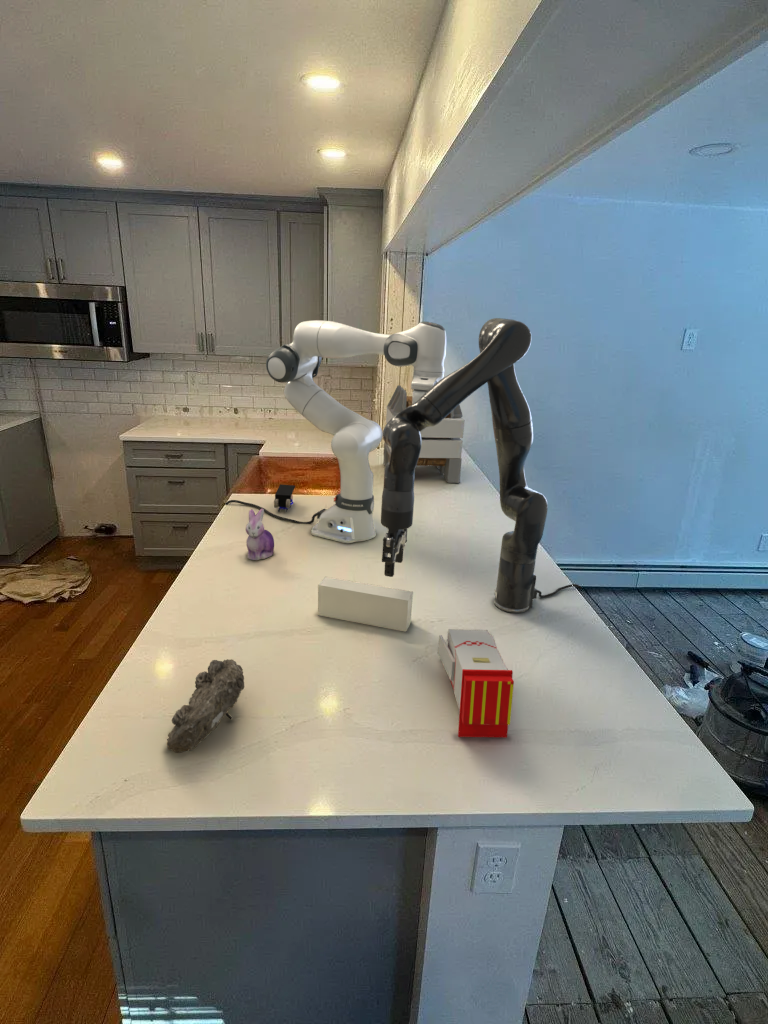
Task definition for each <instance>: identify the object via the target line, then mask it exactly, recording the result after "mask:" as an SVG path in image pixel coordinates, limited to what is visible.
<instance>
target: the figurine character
mask: <svg viewBox="0 0 768 1024" xmlns="http://www.w3.org/2000/svg"><path fill="white" fill-rule="evenodd" d="M295 489H296V485H292V484H279V486H278V487H277V490H276V492H275V494H274V500H273V508H274V509H277V512H278V513H280V512H281V510H285V513H287V512H288V510H289V509H290V508H291V506H293V504H294V495H293V493H294V491H295Z"/></svg>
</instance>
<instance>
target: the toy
mask: <svg viewBox="0 0 768 1024" xmlns="http://www.w3.org/2000/svg"><path fill="white" fill-rule="evenodd" d="M446 640H447V643H446V641H445V639H444V636H443V635H442V634H439V637H438V646H437V656H438V657H439V659H440V661H441V663H442V666H443V668H444V670H445V672H446V674H447V677H448V679H449V681H450V684H451V687H452V690H453V693H454V697H455V701H456V705H457V708H458V711H459V714H458V715H459V716H458V730H457V731H458V732H457V737H458V738H508V731H509V726H510V725H511V717H512V707H513V697H514V696H513V695H514V684H515V680H514V679H513V673H514V671H513V670H512V669H508V667H507V665H506V662H505V661H504V659H503V658H502V655H501V653H500V651H499V649H498V647H497V643H496V639H495V637H494V635H493V634H491V632H490V631H489V629H467V628H466V629H465V628H463V629H461V628H460V629H459V628H448V630H447V639H446Z"/></svg>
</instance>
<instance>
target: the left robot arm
mask: <svg viewBox="0 0 768 1024" xmlns="http://www.w3.org/2000/svg"><path fill="white" fill-rule="evenodd" d="M292 338H293V339H292V341H291V342H290V343H288V344H287V343H284V344H282V345H281V346H279V347H277V348H276V349H273V351H272V352H271V353H270V354H269V355H268V356H267V358H266V360H265V369H266V372H267V373H268V375H269V377H270V378H271V379H272V380H273V381H275V382H277V383H283V384H285V383H286V384H285V385H284V389H283V395H284V398H285V399H286V400H287V402H288V403H289V404H290V405H291V406H292V407H293V408H294V410H296V412H298V413H299V414H300V415H301V416H302V417H303V418H305V419H306V420H307V421H308V422H310V423H311V424H312V425H313V426H315V428H317V429H318V430H319V431H321V432H323V433H326V434H329V435H331V436H332V439H331V441H330V443H331V444H330V447H331V448H330V449H331V451H332V454H333V455H334V456H335V457H336V458H337V462H338V468H339V473H340V475H339V476H340V488H339V489H340V490H339V491H338V492H337V494H336V495H335V496H334V497H333V502H334V504H333V505H331V506H329V507H328V508H323V509H321V510H319V511H317V512H315V513H314V514H313V515H312V517H311V520H310V521H300V520H296V519H293V518H288V517H283V516H280V515H277V514H275V513H273V512H271V511H269V510H268V509H266V508H264V507H262V506H260V505H258V504H254V503H250V502H245V501H241V500H237V499H230V500H228V501H226V502H225V503H224V505H229V504H232V503H237V504H240V505H244V506H248V507H253V508H256V509H259V510H260V509H262V508H263V509H264V513H266V514H268V515H269V516H271V517H273V518H276V519H279V520H282V521H286V522H290V523H293V524H301V525H312V524H313V523H314V522H315V518H316V519H318V521H317V523H315V524H314V525H313V526H312V528H311V530H310V533H311V536H315V537H319V538H323V539H326V540H330V541H336V542H339V543H343V544H352V543H357V542H365V541H368V540H372V539H373V538H375V537H376V535H377V532H376V528H375V523H374V513H373V512H374V509H375V496H374V473H373V471H372V469H371V466H370V461H369V455H370V453H371V452H372V451H375V450H376V449H377V448H378V447H379V445H380V444H381V442H382V440H383V429H382V427H381V425H380V424H379V423H377V422H376V421H374V420H371V419H368V418H366V417H364V416H363V415H361V414H359V413H357V412H355V411H354V410H352V409H350V408H348V407H346V406H345V405H343V404H341V402H339V401H338V400H336V399H335V398H334V397H333V396H331V394H329V393H328V392H327V391H326V390H325V389H323V388H322V387H320V386H319V385H318V384H317V383H316V382H315V381H314V378H315V377H317V376H318V374H319V368H320V367H321V363H322V359H323V358H324V359H332V360H333V359H346V358H347V359H348V358H352V357H357V356H363V355H380V356H381V355H382V356H383V357H384V359H385V360H386V361H387V362H388V363H389V364H390V365H392V366H394V367H399V368H400V367H401V368H402V367H409V366H413V376H412V381H411V384H410V390H412V404H414V403H415V402H417V401H418V400H419V399H420V398H421V397H422V396H423V395H424V394H425V393H426V392H427V391H428V390H429V389H430V388H431V387H432V386H434V385H435V384H436V383H437V382H438V381H440V380H441V379H443V378H444V377H445V367H444V363H445V359H446V355H447V331H446V329H445V327H444V326H443V325H441V324H439V323H436V322H430V321H426V320H425V321H420V322H419V323H418V324H417V325H415V326H413V327H411V328H409V329H405V330H403V331H398V332H396V333H395V332H394V333H393V334H387V333H378V332H371V331H368V330H366V329H365V330H364V329H361V328H358V327H355V326H351V325H347V324H345V323H341V322H337V321H332V320H320V319H316V320H305V321H301V322H299V323H298V324H297V325H296V326H295V328H294V330H293V337H292ZM424 429H425V428H424ZM424 429H423V430H422V431H424Z"/></svg>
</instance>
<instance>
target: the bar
mask: <svg viewBox="0 0 768 1024" xmlns="http://www.w3.org/2000/svg"><path fill="white" fill-rule="evenodd" d="M413 595H414V592H413V591H411V590H405V589H400V588H395V587H389V586H382V585H376V584H373V583H372V584H371V583H365V582H361V581H360V582H359V581H353V580H348V579H342V578H335V577H330V576H324V577H323V579H321V581H320V582H319V583H318V584H317V616H321V617H326V618H330V619H336V620H341V621H348V622H352V623H357V624H362V625H363V624H364V625H368V626H372V627H373V626H374V627H379V628H385V629H389V630H394V631H399V632H404V633H407V631H408V628H409V627H410V625H411V622H412V609H413Z"/></svg>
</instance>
